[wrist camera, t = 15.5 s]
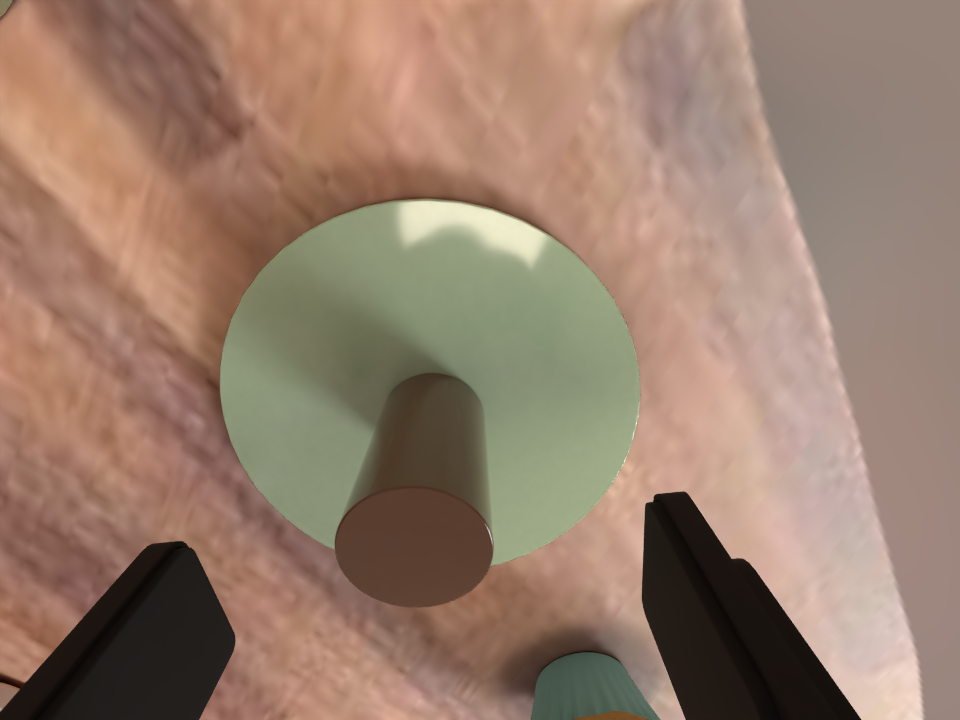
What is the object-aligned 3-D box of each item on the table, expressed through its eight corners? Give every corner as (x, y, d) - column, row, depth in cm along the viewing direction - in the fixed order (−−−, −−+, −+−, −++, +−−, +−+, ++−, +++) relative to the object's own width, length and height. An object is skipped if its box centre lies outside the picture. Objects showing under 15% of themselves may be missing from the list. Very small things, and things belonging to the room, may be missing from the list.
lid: (296, 569, 19) (209, 767, 13) (171, 227, 14) (-92, 268, 7) (628, 533, 19) (711, 718, 13) (633, 170, 14) (786, 159, 7)
